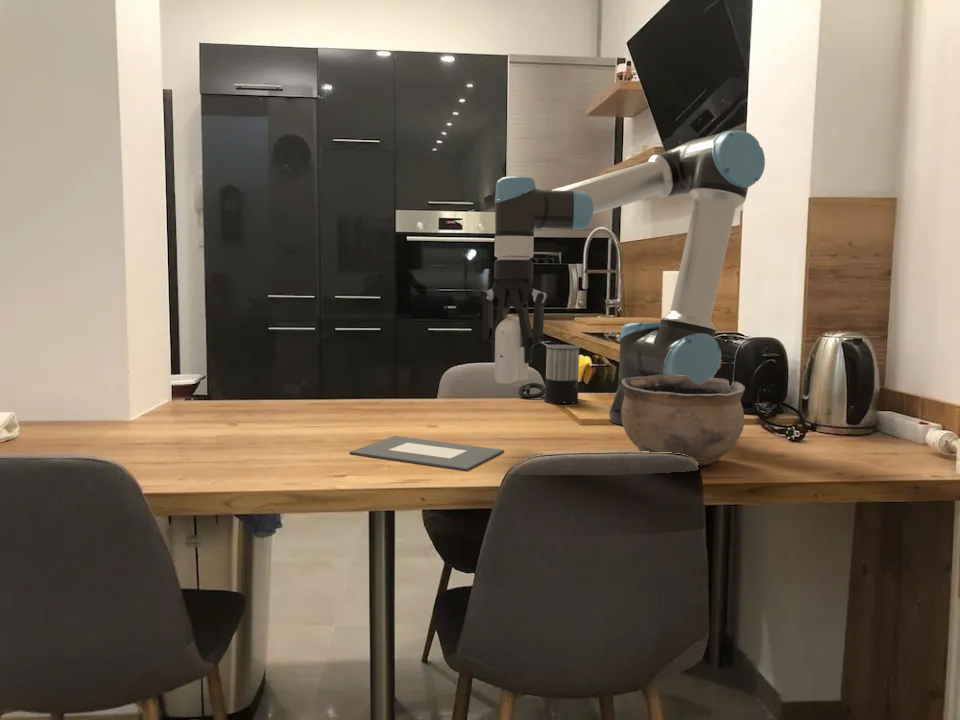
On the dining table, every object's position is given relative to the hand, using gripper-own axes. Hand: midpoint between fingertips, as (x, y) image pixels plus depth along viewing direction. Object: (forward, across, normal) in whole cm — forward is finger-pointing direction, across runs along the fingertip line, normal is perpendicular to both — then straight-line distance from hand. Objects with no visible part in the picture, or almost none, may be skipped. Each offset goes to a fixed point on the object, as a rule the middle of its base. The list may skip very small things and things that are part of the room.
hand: (511, 378), depth 154 cm
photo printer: (+1, 0, 0) cm, 1 cm away
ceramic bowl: (+14, -33, -2) cm, 35 cm away
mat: (+13, +10, +15) cm, 22 cm away
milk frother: (+14, +12, -54) cm, 57 cm away
